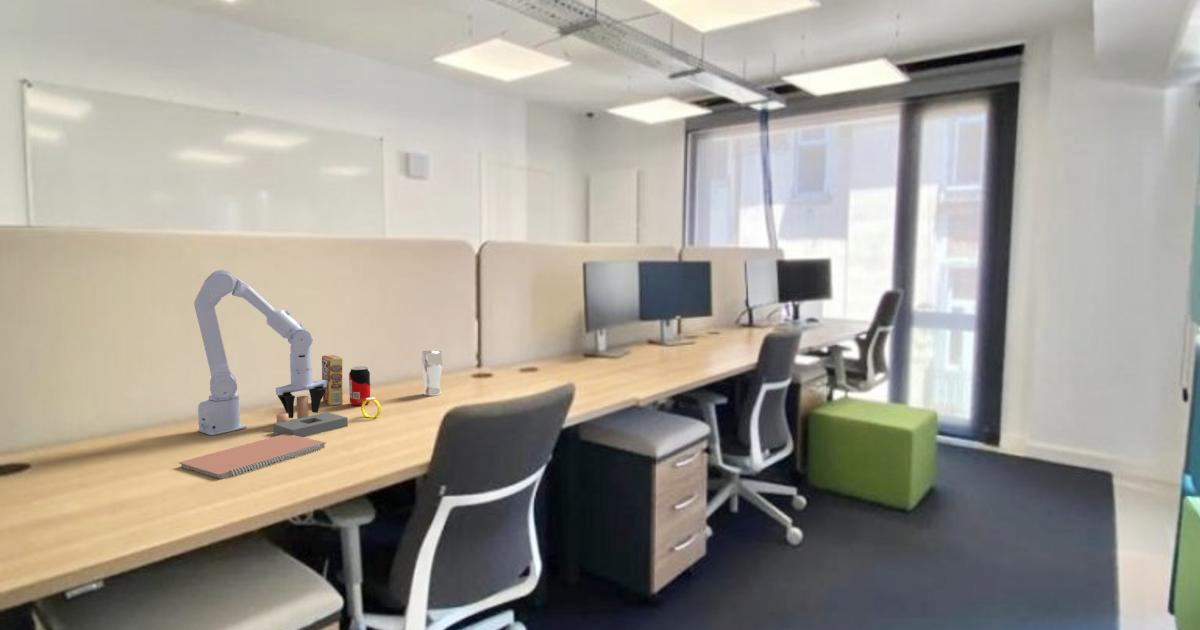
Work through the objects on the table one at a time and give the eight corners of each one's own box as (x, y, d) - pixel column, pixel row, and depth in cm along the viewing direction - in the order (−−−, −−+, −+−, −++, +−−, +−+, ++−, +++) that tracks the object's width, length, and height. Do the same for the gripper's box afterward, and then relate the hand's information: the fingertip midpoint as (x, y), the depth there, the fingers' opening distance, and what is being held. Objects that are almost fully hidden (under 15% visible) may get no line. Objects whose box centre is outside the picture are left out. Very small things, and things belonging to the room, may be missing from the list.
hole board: (293, 439, 168) (293, 430, 168) (273, 432, 174) (273, 423, 174) (347, 426, 181) (347, 417, 181) (327, 420, 187) (327, 412, 187)
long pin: (301, 422, 185) (300, 398, 184) (295, 420, 187) (294, 397, 186) (310, 420, 188) (309, 396, 187) (305, 418, 189) (304, 395, 189)
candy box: (344, 404, 207) (342, 357, 206) (330, 406, 205) (328, 359, 203) (335, 399, 214) (334, 354, 213) (322, 400, 211) (320, 355, 210)
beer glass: (446, 393, 224) (446, 351, 223) (431, 397, 218) (431, 354, 217) (432, 391, 228) (432, 349, 227) (417, 394, 222) (417, 352, 221)
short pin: (280, 430, 177) (280, 416, 176) (274, 428, 178) (274, 414, 178) (291, 428, 179) (290, 414, 179) (285, 426, 181) (284, 412, 180)
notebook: (222, 483, 138) (222, 474, 138) (178, 469, 146) (178, 461, 146) (329, 449, 162) (328, 442, 162) (286, 439, 170) (286, 432, 170)
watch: (360, 418, 191) (358, 399, 190) (365, 416, 193) (364, 397, 193) (378, 418, 189) (376, 399, 189) (383, 416, 192) (381, 397, 191)
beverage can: (366, 406, 204) (365, 369, 203) (346, 406, 204) (345, 369, 203) (373, 402, 211) (372, 366, 209) (354, 401, 211) (353, 366, 210)
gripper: (284, 374, 178) (286, 422, 179) (331, 367, 189) (333, 411, 191) (271, 371, 182) (272, 418, 183) (318, 364, 193) (319, 408, 195)
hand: (302, 414), depth 187 cm, fingers open, 7 cm apart
